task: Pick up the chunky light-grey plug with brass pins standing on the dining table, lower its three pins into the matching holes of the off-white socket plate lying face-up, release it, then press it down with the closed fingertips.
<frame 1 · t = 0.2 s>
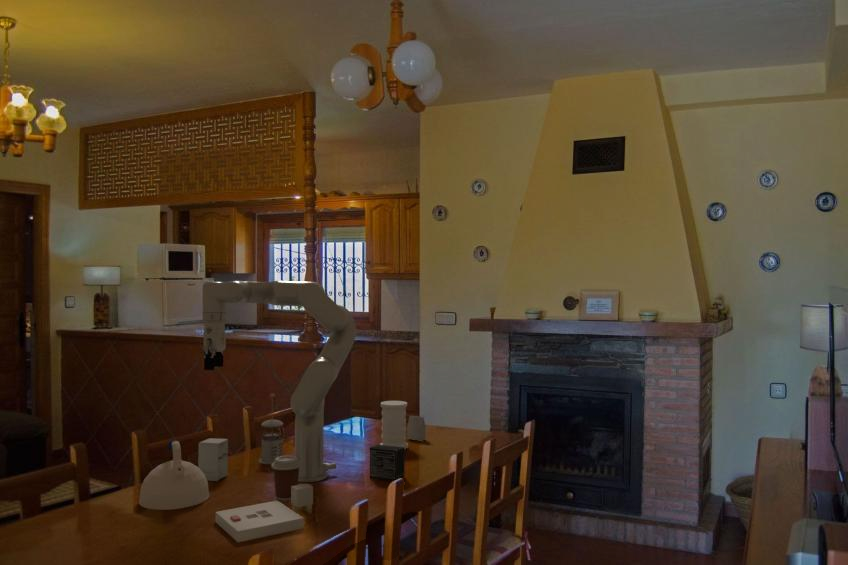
hand: (213, 368, 232), 37 cm above the table, tool pointing down, fingers open, 9 cm apart
small box: (387, 478, 232), on the table
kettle: (174, 500, 208), on the table
socket: (258, 525, 185), on the table
decorative container: (393, 447, 275), on the table
grey tapered block: (416, 440, 289), on the table
supplement box: (213, 478, 231), on the table
plug: (302, 512, 196), on the table
coffee cup: (286, 497, 210), on the table
french press: (273, 460, 255), on the table
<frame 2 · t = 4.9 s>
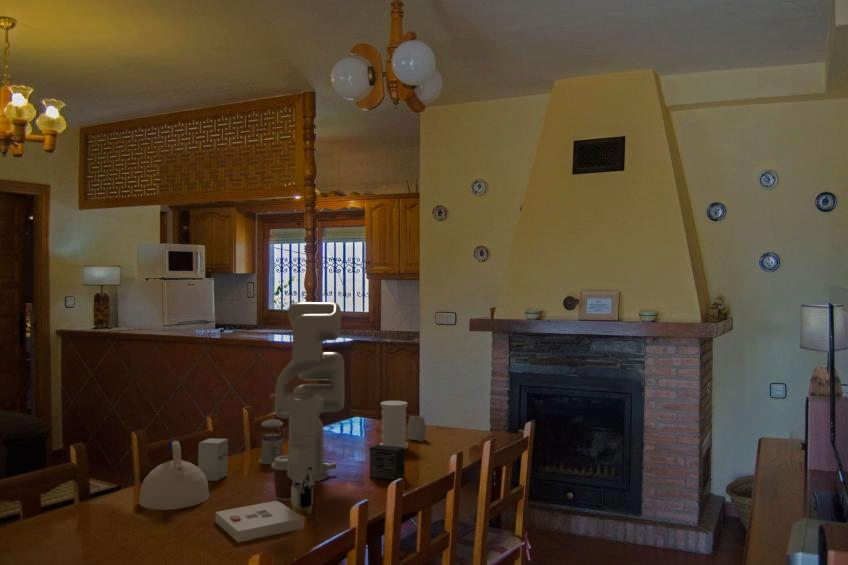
hand: (302, 503, 196), 3 cm above the table, tool pointing down, fingers closed on plug, 4 cm apart
plug: (302, 512, 196), on the table, touching gripper
everything else where it was.
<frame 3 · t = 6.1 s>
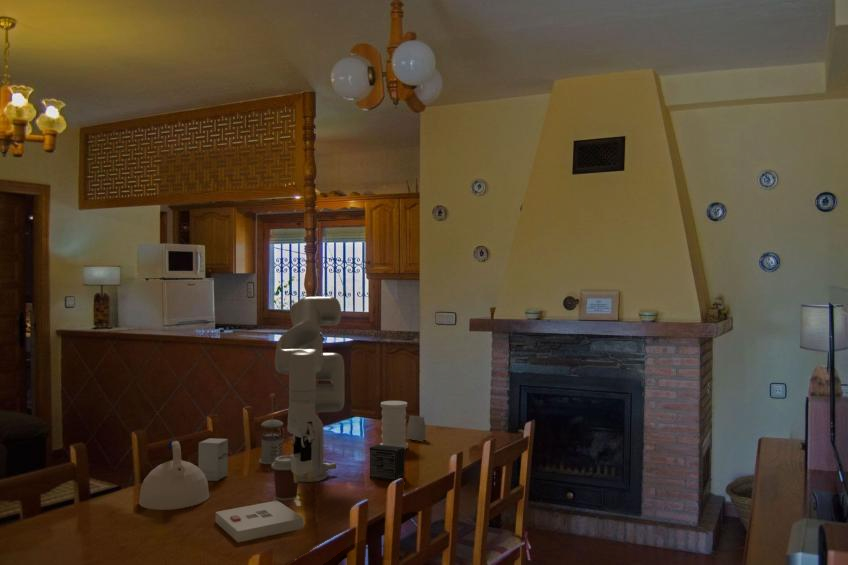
hand: (302, 458, 196), 15 cm above the table, tool pointing down, fingers closed on plug, 4 cm apart
plug: (303, 479, 197), point 9 cm above the table, tilted 6°, touching gripper
everything else where it was.
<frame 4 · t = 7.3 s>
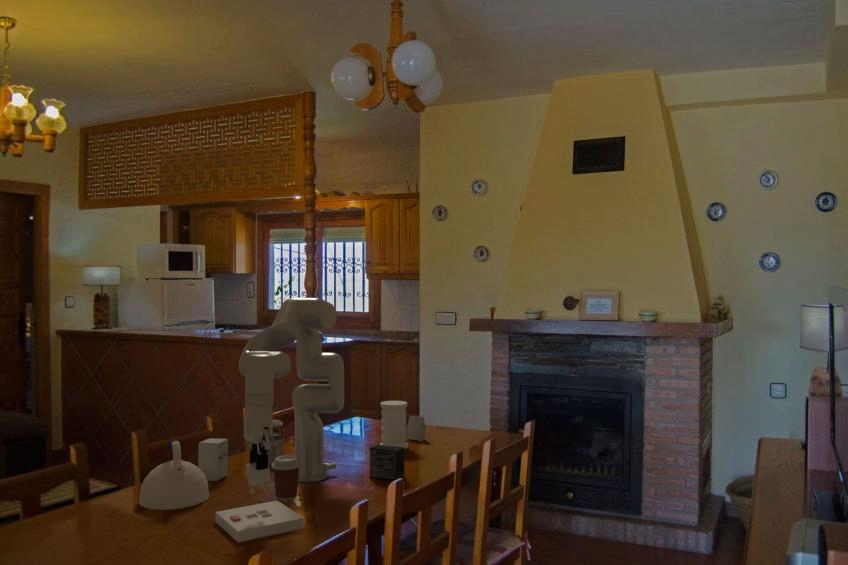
hand: (258, 466, 185), 16 cm above the table, tool pointing down, fingers closed on plug, 4 cm apart
plug: (259, 491, 185), point 9 cm above the table, tilted 5°, touching gripper
everything else where it was.
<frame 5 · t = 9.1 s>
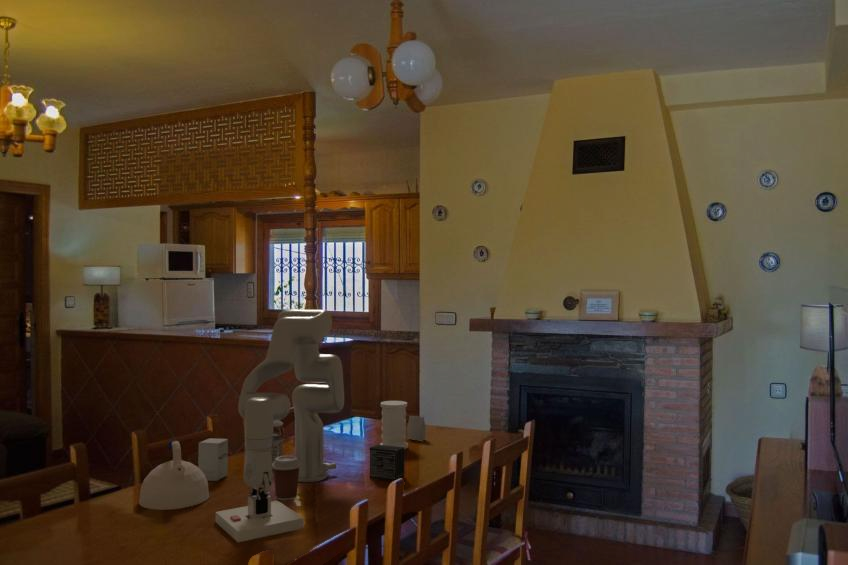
hand: (258, 510, 185), 4 cm above the table, tool pointing down, fingers closed on plug, 3 cm apart
plug: (259, 524, 185), resting in socket, touching gripper
everything else where it was.
when the fingers open (4 cm above the table, at t = 9.3 s): plug stays where it is, resting on socket.
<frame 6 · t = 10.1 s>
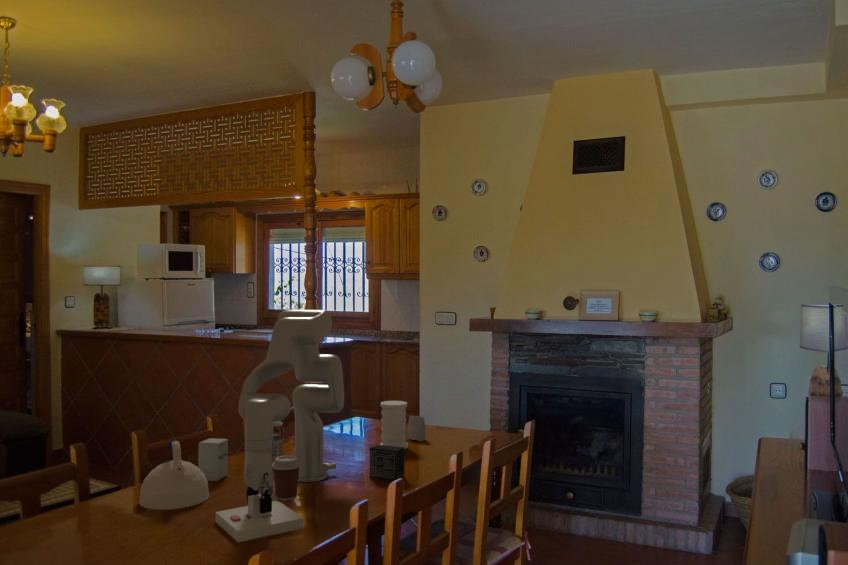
hand: (259, 507, 185), 5 cm above the table, tool pointing down, fingers open, 9 cm apart
plug: (259, 524, 185), resting on socket
everything else where it was.
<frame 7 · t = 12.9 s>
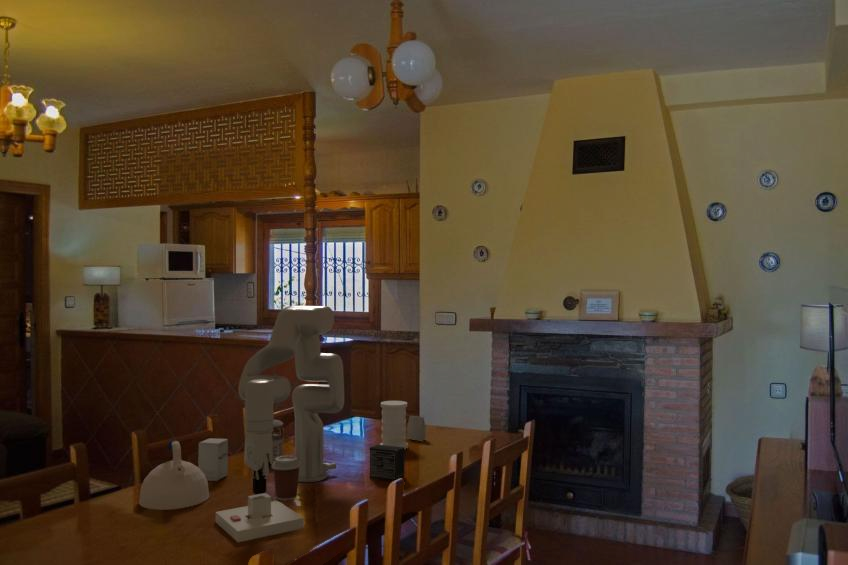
hand: (259, 492, 186), 9 cm above the table, tool pointing down, fingers closed
nothing on the table moved.
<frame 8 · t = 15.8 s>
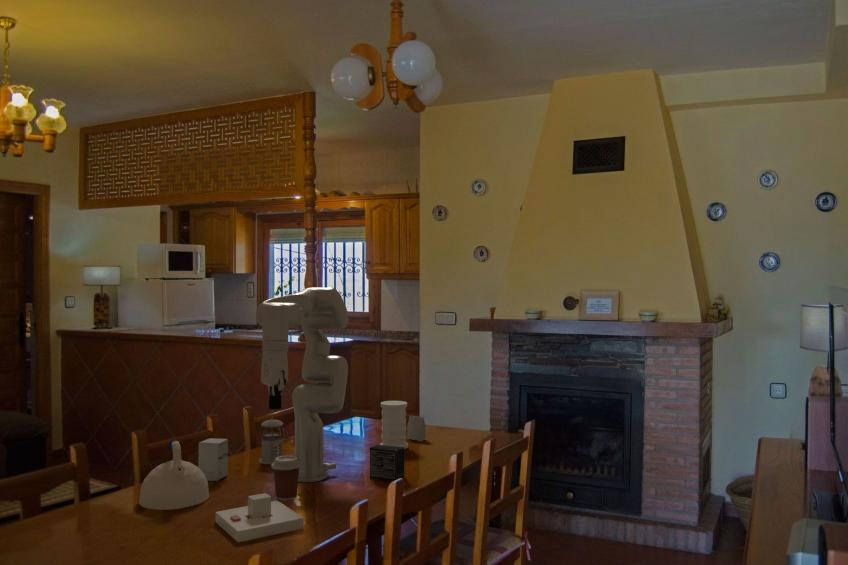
hand: (275, 408, 200), 29 cm above the table, tool pointing down, fingers closed
nothing on the table moved.
at the end: plug 0.1 cm off-centre on the socket, point 0.3 cm above the socket's base; plug tilted 0°; the gripper is holding nothing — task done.
